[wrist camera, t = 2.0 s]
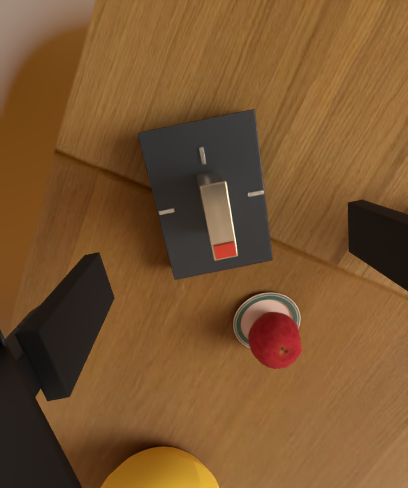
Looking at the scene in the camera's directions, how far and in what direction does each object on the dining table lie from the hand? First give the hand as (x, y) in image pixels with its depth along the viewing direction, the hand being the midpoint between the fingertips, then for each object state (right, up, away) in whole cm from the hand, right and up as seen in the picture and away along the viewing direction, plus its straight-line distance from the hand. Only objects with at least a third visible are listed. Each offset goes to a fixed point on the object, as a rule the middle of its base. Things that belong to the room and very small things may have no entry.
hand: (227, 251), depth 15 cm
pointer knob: (-1, +4, +11) cm, 12 cm away
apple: (+6, -9, +20) cm, 23 cm away
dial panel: (-1, +5, +14) cm, 15 cm away
